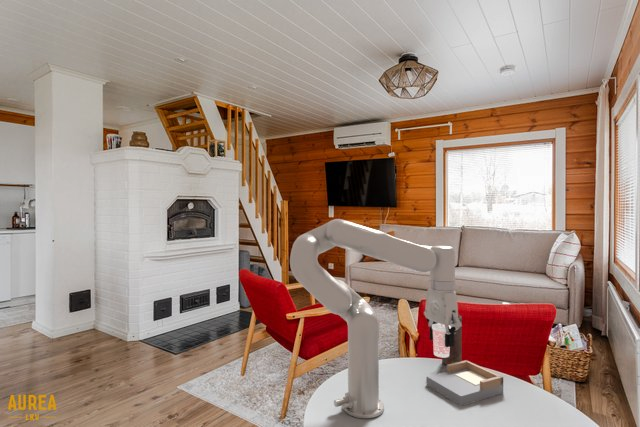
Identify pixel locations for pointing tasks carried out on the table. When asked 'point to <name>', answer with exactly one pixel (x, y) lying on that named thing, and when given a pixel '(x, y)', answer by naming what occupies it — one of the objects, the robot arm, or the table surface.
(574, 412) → the table surface
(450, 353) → the brown rough cylinder
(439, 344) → the beverage cup
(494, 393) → the dock
